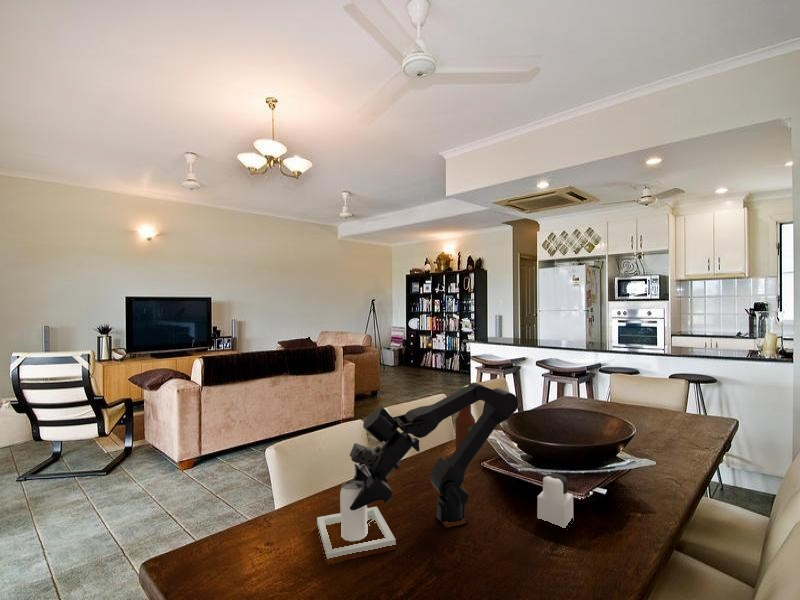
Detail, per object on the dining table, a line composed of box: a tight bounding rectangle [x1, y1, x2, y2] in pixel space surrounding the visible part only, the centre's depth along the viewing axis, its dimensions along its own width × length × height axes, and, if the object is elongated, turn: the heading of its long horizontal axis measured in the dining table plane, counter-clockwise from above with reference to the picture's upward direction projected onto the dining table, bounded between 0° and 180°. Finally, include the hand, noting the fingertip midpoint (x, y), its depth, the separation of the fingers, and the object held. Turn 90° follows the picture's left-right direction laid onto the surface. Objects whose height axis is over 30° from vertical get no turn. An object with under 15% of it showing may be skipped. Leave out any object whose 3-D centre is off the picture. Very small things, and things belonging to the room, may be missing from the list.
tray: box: [316, 506, 397, 559], centre depth 101 cm, size 16×16×2 cm
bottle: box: [455, 386, 476, 450], centre depth 153 cm, size 7×7×25 cm
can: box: [339, 480, 368, 542], centre depth 100 cm, size 6×6×12 cm
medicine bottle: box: [536, 473, 574, 528], centre depth 107 cm, size 7×7×12 cm
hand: (348, 503), depth 100 cm, fingers closed on can, 6 cm apart
